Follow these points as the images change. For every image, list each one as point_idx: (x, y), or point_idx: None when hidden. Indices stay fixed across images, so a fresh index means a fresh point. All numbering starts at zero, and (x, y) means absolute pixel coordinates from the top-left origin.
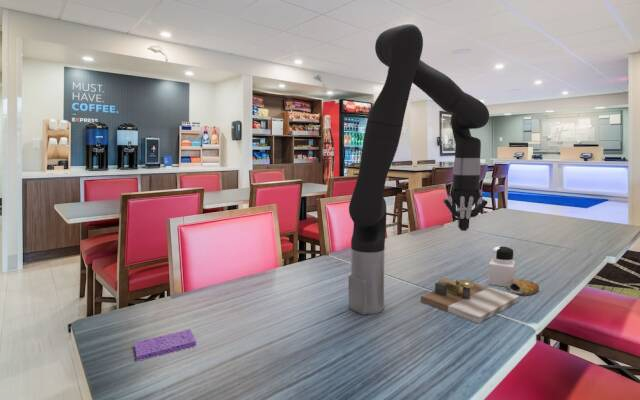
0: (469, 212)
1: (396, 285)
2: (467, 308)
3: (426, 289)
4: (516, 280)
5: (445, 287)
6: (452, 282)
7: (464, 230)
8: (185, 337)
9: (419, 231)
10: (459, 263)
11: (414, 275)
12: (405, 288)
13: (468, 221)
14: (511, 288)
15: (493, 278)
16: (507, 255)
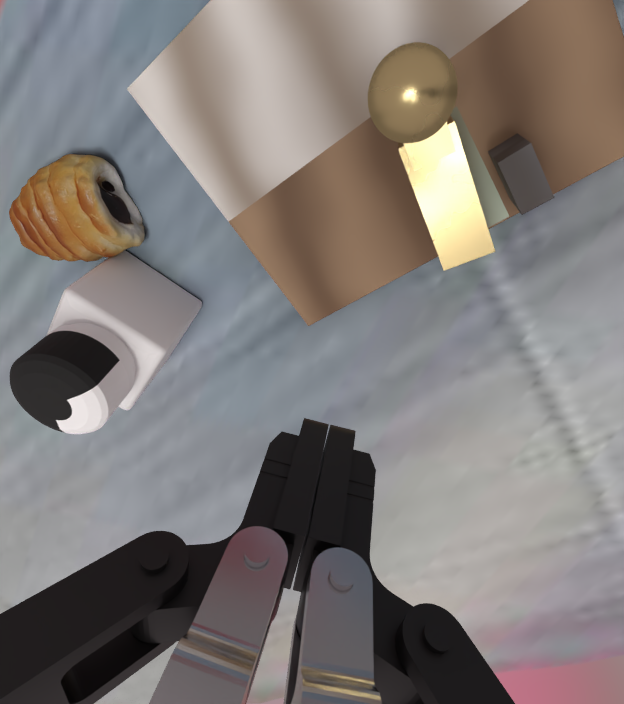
0: (217, 620)
1: (620, 349)
2: None
3: (505, 285)
4: (88, 236)
5: (510, 151)
6: (446, 192)
7: (324, 424)
8: None
9: (253, 700)
10: (233, 492)
11: (465, 430)
12: (600, 310)
13: (259, 501)
14: (129, 215)
15: (175, 303)
16: (55, 345)
